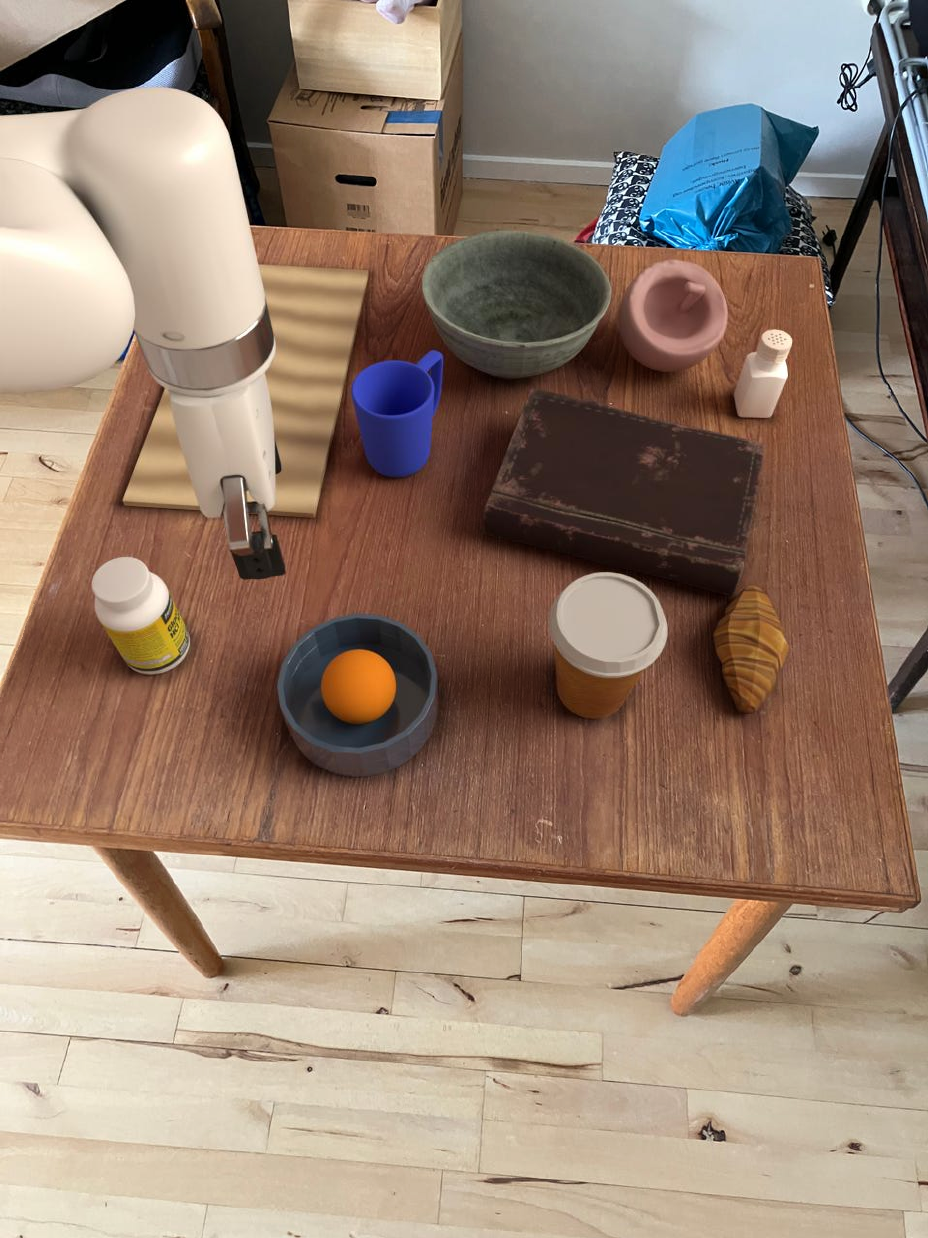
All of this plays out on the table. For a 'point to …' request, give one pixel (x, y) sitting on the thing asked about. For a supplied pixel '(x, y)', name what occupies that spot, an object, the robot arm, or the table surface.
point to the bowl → (515, 301)
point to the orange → (358, 686)
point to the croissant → (750, 648)
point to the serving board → (277, 392)
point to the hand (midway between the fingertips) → (262, 521)
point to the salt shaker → (763, 376)
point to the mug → (398, 412)
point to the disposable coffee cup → (604, 640)
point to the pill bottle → (139, 616)
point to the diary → (627, 491)
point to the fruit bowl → (370, 742)
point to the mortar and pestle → (672, 315)
